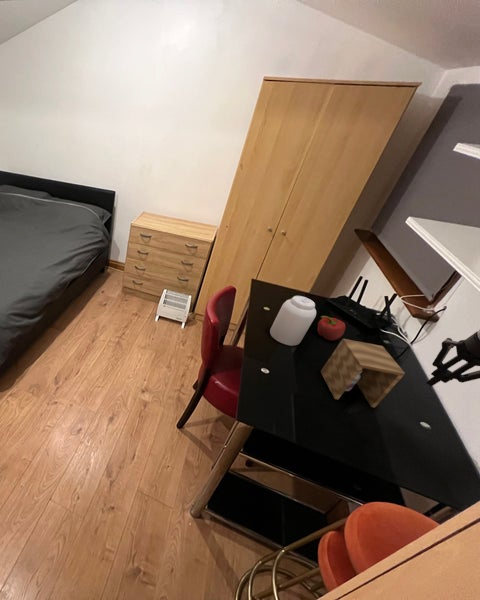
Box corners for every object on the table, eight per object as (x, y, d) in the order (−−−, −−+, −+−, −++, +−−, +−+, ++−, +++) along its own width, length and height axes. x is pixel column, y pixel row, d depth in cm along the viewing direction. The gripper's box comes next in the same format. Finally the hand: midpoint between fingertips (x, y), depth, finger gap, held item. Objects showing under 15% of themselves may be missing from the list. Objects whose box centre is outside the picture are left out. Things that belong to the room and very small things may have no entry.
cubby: (374, 407, 114) (405, 373, 104) (334, 398, 116) (360, 364, 106) (356, 379, 125) (382, 346, 116) (320, 371, 127) (342, 338, 118)
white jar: (278, 325, 152) (296, 289, 141) (305, 340, 143) (327, 303, 132) (263, 333, 146) (281, 296, 135) (291, 350, 137) (312, 312, 126)
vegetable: (313, 339, 145) (323, 321, 139) (309, 326, 153) (319, 309, 147) (341, 346, 142) (353, 329, 136) (336, 333, 150) (347, 316, 144)
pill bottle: (331, 379, 124) (344, 361, 119) (347, 382, 123) (361, 364, 118) (336, 389, 120) (350, 371, 114) (352, 393, 119) (367, 375, 113)
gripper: (455, 331, 85) (400, 372, 103) (522, 368, 77) (449, 406, 95) (471, 317, 86) (414, 360, 104) (538, 352, 79) (463, 392, 96)
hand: (431, 382), depth 99 cm, fingers closed
